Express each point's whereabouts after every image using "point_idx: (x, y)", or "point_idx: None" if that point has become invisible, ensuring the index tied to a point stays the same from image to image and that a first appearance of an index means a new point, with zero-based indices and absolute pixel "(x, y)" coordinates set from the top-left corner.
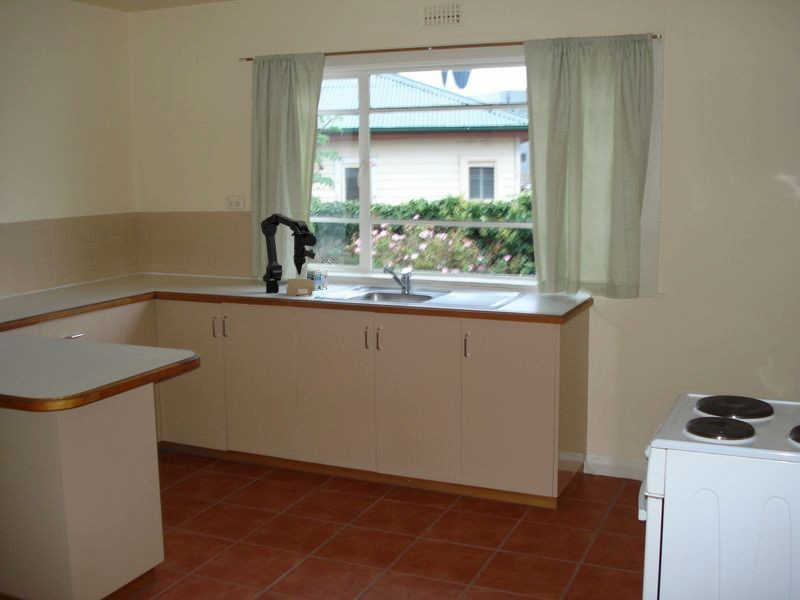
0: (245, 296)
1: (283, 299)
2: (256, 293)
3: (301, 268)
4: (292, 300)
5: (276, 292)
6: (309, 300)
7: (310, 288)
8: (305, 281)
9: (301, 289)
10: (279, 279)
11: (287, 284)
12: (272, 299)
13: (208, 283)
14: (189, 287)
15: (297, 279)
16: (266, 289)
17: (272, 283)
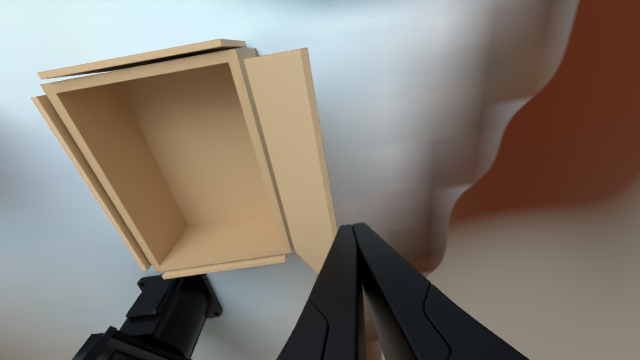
0: None
1: (430, 209)
2: (239, 337)
3: (439, 293)
4: (476, 155)
5: (203, 277)
6: (493, 31)
7: (242, 59)
8: (297, 122)
9: None
10: (108, 340)
11: (165, 266)
12: (428, 256)
13: None
14: None
15: (332, 217)
16: (202, 327)
17: (186, 341)
